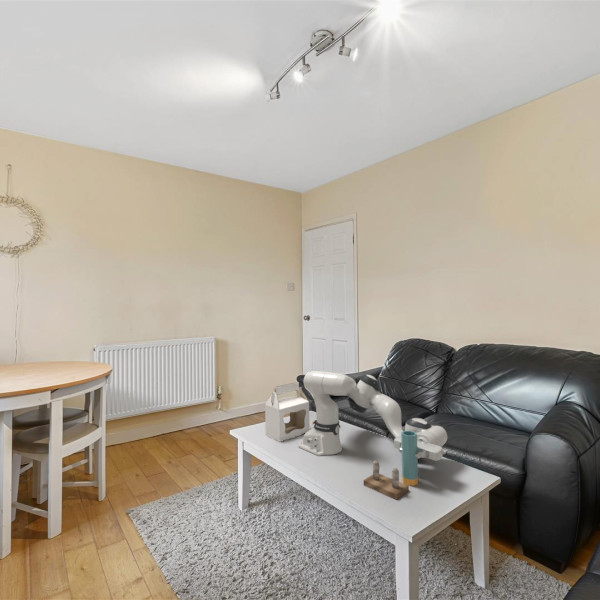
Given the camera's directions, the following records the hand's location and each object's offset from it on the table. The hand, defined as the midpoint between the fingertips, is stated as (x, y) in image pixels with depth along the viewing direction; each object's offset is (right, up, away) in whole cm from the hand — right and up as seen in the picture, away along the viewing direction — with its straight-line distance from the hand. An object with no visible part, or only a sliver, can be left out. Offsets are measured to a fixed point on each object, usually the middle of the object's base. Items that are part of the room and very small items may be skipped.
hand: (408, 453), depth 145 cm
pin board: (-10, -12, -4) cm, 16 cm away
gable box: (-51, -13, +56) cm, 77 cm away
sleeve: (+1, -12, +1) cm, 12 cm away
